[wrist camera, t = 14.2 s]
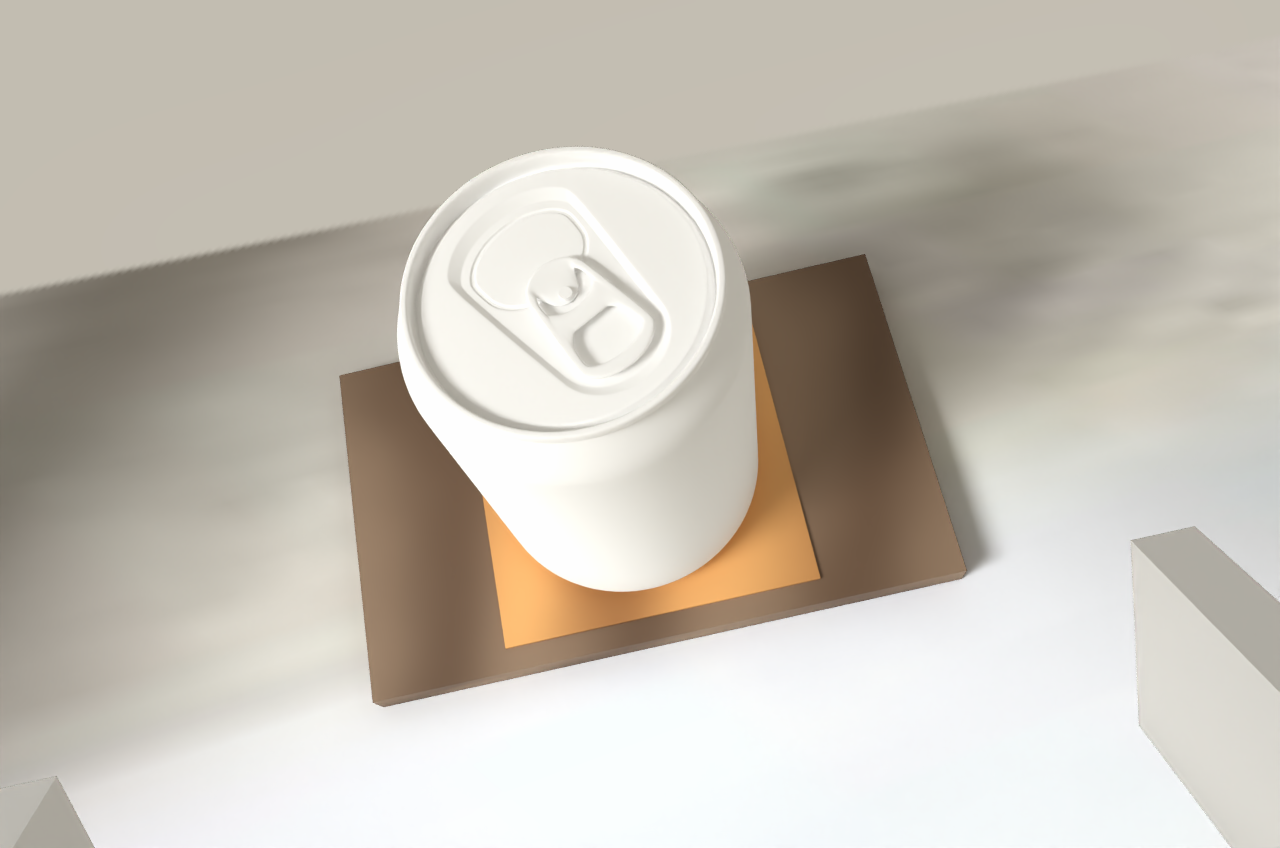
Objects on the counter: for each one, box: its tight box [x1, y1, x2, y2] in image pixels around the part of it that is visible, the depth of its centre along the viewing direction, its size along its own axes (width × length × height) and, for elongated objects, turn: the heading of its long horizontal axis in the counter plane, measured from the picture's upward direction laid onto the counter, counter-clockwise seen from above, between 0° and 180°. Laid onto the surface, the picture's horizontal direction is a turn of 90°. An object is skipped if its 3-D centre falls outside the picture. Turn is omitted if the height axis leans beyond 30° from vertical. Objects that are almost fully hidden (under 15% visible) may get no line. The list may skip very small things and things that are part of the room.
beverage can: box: [397, 146, 758, 592], centre depth 30 cm, size 8×8×12 cm
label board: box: [340, 254, 967, 707], centre depth 36 cm, size 18×11×1 cm, turn 101°
